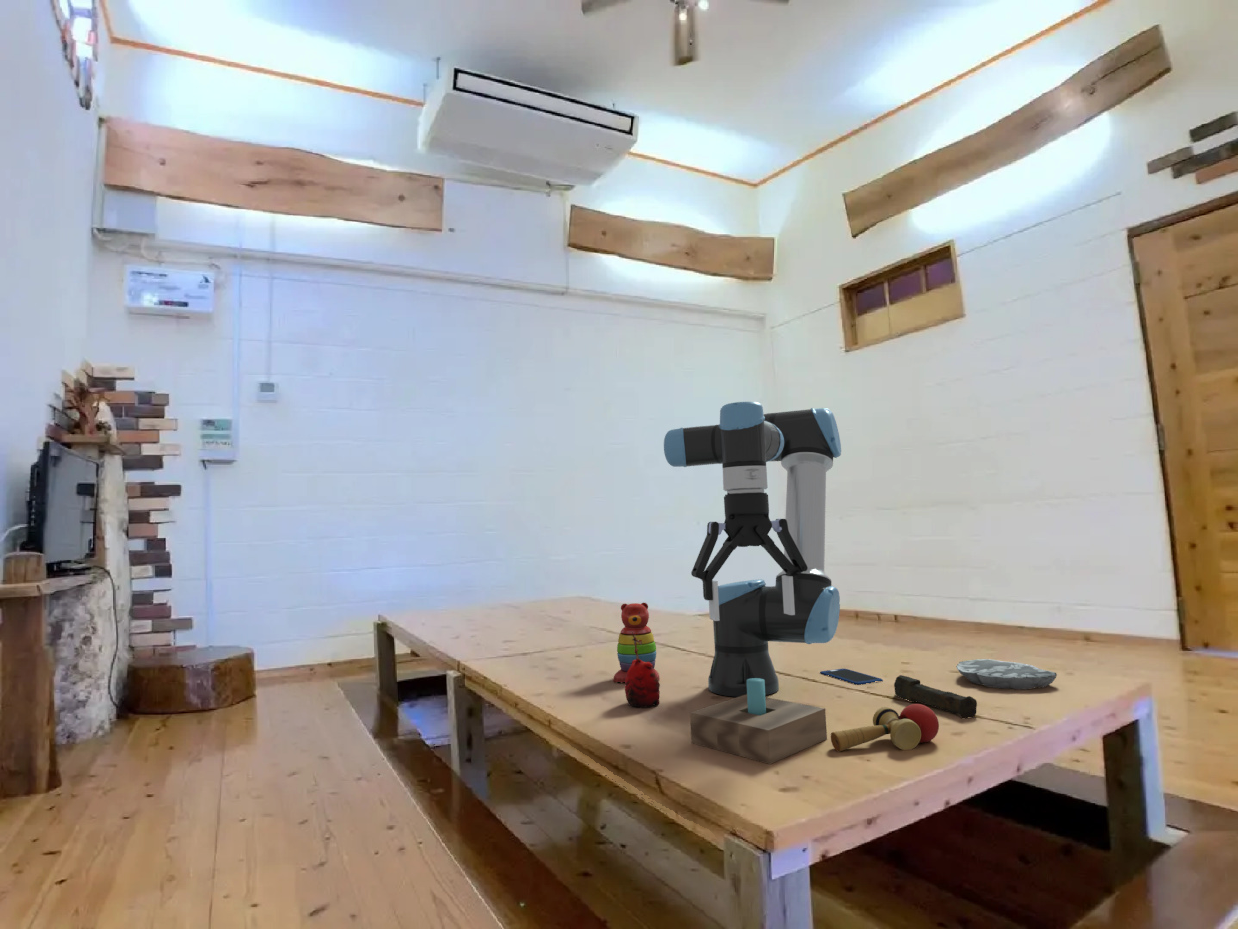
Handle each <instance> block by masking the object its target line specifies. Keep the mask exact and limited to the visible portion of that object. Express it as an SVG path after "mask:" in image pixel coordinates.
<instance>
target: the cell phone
mask: <svg viewBox="0 0 1238 929" xmlns="http://www.w3.org/2000/svg"><path fill="white" fill-rule="evenodd" d="M820 673H821V674H820ZM819 674H820V675H823V674H824V675H823V676H826V675H829V676H832V677H831V678H833V677H835V678H834V679H836V678H838V679H837V680H839V679H841V680H840V681H842V680H844V681H843V682H846V681H848V682H847V683H849V682H851V683H850V684H852V683H854V684H853V685H856V684H857V685H858V686H860V685H861V684H862V685H867V684H866V683H869V684H872V683H871V682H875V681H882V682H883V681H884V680H883V679H882V678H879V677H877V676H874V675H869V674H867V673H862V672H860V671H854V670H853V669H848V668H837V669H830V670H829V669H828V670H821V671H820V672H819ZM829 676H828V677H829Z"/></svg>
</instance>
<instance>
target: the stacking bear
mask: <svg viewBox="0 0 1238 929" xmlns="http://www.w3.org/2000/svg"><path fill="white" fill-rule="evenodd" d="M648 608H649V605H648V603H647V602H642V603H637V602H636V603H635V602H634V603H633V602H632V603H622V604H621V605H620V611H621V617H620V618H621V622H622V624H623V626H624V627H623V628H621V630H620V633H619V635H618V639H617V642H618V643H617V647H616V648H617V649H616V651H617V654H616V655H617V659H618V662H619V666H620V669H619V670H618V671H616V673H615V674H614V675H613V678H612V681H613V683H615V682H625V678H626V676H627V671H628V670H629V668H630V666H631V665H632V661H633V660H636V653H635V652H634V650H635V645H634V640H632V639H633V638H634V637H633V636H632V633H633V635H634V636H635V635H636V636H635V637H636V639H637V640H642V645H641V644H640V643H638V642H636V643H637V649H638V652H637V653H638V657H639V659H640V660H642V661H644V662H650V663H651V664H652V665H653V669H654V671H655V672H656V674H657V678H658V682H660V680H661V678H660V674H659V672H658V671H657V670H656V668H655V666H656V659H657V645H656V641H655V638H654V634H653V632H652V629H651V628H650V627H649V626H647V625H648V622H649V618H650V614H649V609H648Z"/></svg>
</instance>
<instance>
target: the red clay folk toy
mask: <svg viewBox="0 0 1238 929" xmlns="http://www.w3.org/2000/svg"><path fill="white" fill-rule="evenodd" d="M632 636H633V637H634V638H633V639H632V640H634V645H635V650H634V652H635V653H636V660H633V661H632V665H631V666H630V668H629V670H628V671H627V676H626V678H625V683H624V692H625V698H626V701H627V703H628V705H629V706H632V707H635V708H640V707H641V708H650V707H654V706H658V705H659V704H660V693H661V692H660V688H661V687H660V686H661V685H660V683H659V682H660V681H658V678H657V674H656V672H655V671H654V669H655V668H654V669H653V665H652V664H651V663H650V662H644V661H642V660H640V659H639V657H638V653H637V652H638V649H637V643H636V642H638V643H640V644H641V645H642V640H637V639H636V637H635V636H636V635H635V636H634V635H633V633H632Z"/></svg>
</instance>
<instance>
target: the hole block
mask: <svg viewBox="0 0 1238 929" xmlns="http://www.w3.org/2000/svg"><path fill="white" fill-rule="evenodd" d="M765 700H766V714H763V715H761V716H760V715H755V714H750V713H748V702H747V694H746V695H743V696H740V697H734V698H731V699H728V700H724V701H721V702H719V703H715V704H712V705H708V706H706V707H702V708H700V709H696V710H693V711H690V712H689V722H690V724H689V725H690V741H691V744H694V745H698V746H702V747H706V748H709V749H714V750H717V751H722V752H725V753H728V754H732V755H735V756H737V757H738V756H740V757H744V758H747V759H750V760H753V761H756V762H757V761H758V762H761V763H765V764H768V765H772V764H773V763H776V762H778V761H781V760H782V759H785V758H787V757H790V756H792V755H794V754H797V753H799V752H801V751H803V750H805V749H808V748H811V747H812V746H816V744H819V743H822V742H825V741H826V740H828V734H827V733H828V732H827V717H826V716H827V715H826V708H824V707H820V706H815V705H814V706H813V705H809V704H803V703H799V702H793V701H789V700H788V701H787V700H783V699H776V698H771V697H766V696H765Z"/></svg>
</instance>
